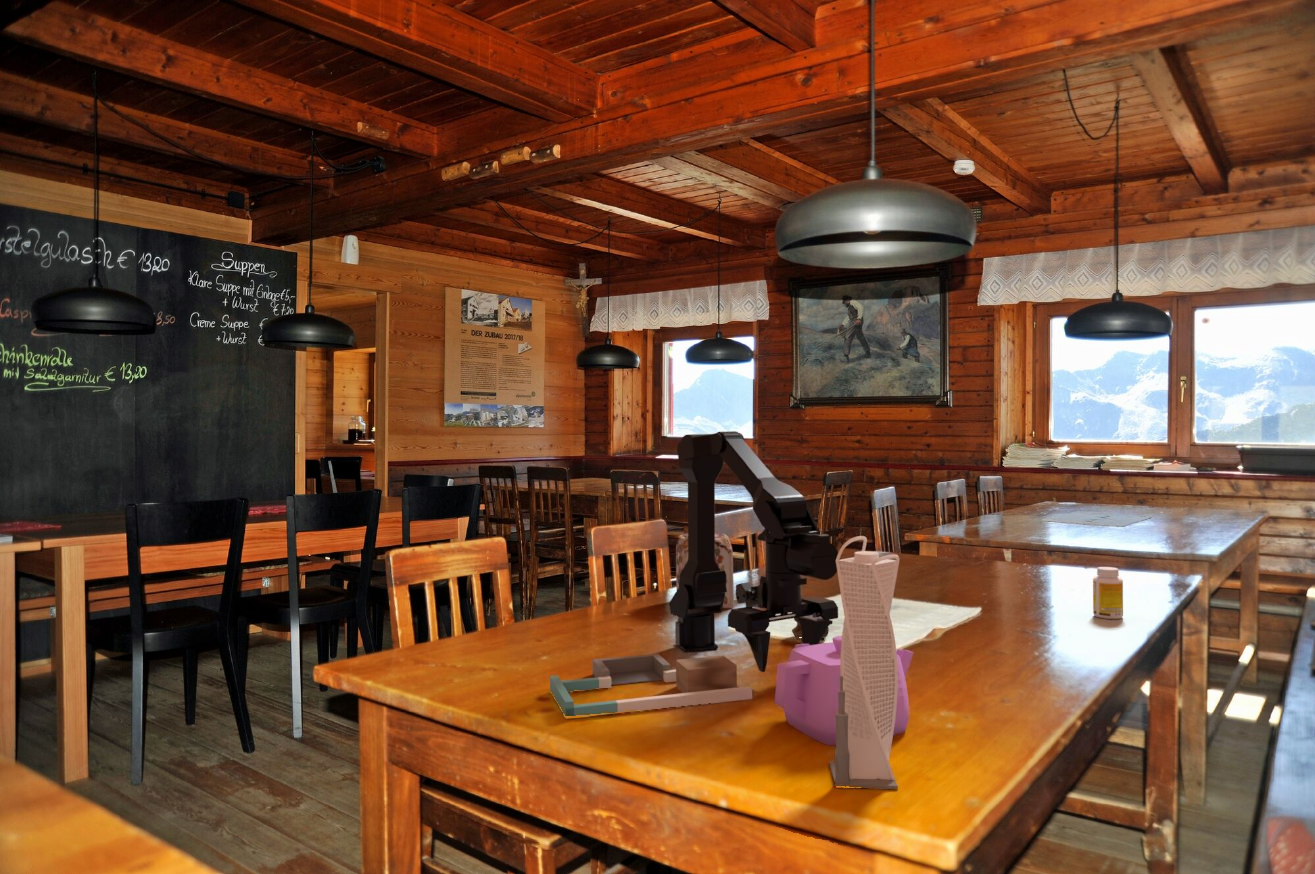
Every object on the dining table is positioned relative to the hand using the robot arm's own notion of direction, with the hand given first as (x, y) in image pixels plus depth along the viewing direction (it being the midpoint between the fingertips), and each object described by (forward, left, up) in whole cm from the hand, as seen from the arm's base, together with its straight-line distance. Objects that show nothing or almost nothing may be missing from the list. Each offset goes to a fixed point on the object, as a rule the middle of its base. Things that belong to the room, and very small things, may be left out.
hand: (784, 666), depth 141 cm
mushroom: (-17, -24, -3) cm, 29 cm away
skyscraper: (+6, +37, -2) cm, 38 cm away
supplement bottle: (-83, -19, -2) cm, 85 cm away
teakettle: (0, +21, -3) cm, 21 cm away
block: (+13, 0, -2) cm, 14 cm away
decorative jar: (-8, -60, -2) cm, 60 cm away
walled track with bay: (+23, -4, -2) cm, 23 cm away
